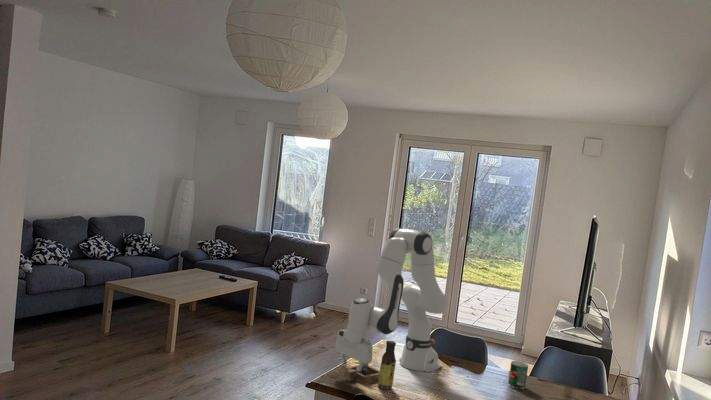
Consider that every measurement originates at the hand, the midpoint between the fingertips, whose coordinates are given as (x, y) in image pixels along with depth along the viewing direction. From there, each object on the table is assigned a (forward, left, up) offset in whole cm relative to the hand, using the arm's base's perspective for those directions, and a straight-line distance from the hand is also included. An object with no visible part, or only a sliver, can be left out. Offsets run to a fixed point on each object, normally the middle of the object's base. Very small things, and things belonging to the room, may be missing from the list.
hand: (351, 367), depth 246 cm
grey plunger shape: (-9, 0, -6) cm, 10 cm away
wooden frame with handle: (-7, 0, -6) cm, 9 cm away
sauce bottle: (-9, +13, -6) cm, 17 cm away
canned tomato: (-73, +39, -6) cm, 83 cm away
